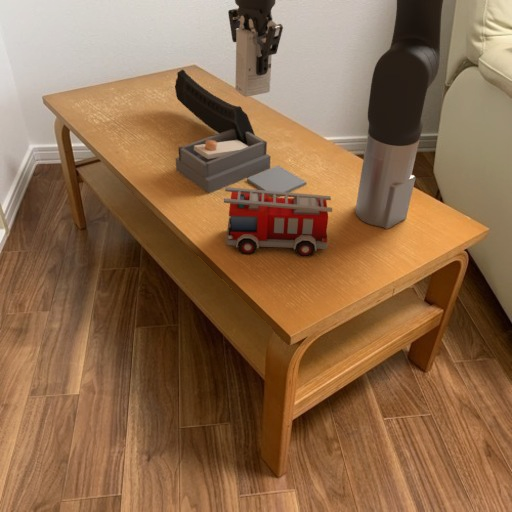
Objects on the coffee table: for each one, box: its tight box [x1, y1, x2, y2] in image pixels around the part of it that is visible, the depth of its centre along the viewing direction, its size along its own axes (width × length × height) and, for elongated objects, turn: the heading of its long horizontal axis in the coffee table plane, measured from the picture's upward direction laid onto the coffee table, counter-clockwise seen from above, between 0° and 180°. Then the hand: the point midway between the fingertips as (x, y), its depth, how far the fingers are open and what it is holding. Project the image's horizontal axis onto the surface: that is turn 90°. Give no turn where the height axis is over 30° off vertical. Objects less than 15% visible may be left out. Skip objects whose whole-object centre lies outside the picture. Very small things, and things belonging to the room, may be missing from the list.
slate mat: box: [246, 165, 307, 198], centre depth 118 cm, size 9×9×1 cm
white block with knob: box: [194, 140, 249, 159], centre depth 119 cm, size 12×5×2 cm, turn 130°
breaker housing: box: [174, 129, 272, 194], centre depth 121 cm, size 17×12×6 cm
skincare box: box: [234, 28, 273, 98], centre depth 109 cm, size 6×4×12 cm
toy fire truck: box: [223, 186, 333, 258], centre depth 99 cm, size 9×19×10 cm, turn 88°
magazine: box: [174, 69, 256, 145], centre depth 132 cm, size 17×3×30 cm
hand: (253, 69), depth 110 cm, fingers closed on skincare box, 4 cm apart
